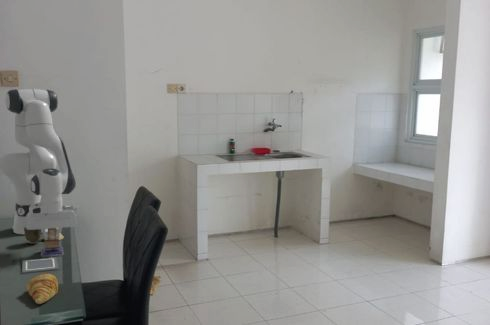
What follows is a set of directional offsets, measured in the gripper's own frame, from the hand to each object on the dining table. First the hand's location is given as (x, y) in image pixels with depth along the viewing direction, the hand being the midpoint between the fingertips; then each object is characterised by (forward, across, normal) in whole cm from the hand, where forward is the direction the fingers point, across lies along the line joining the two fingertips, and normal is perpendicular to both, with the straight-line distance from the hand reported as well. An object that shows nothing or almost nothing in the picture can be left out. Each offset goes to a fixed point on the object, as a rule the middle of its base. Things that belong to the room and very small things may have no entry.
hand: (51, 237), depth 202 cm
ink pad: (+7, 0, +1) cm, 7 cm away
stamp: (+4, 0, 0) cm, 4 cm away
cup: (+7, +7, -14) cm, 18 cm away
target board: (+6, +5, +15) cm, 17 cm away
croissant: (+6, +5, +42) cm, 42 cm away
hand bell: (+7, -2, -20) cm, 21 cm away
